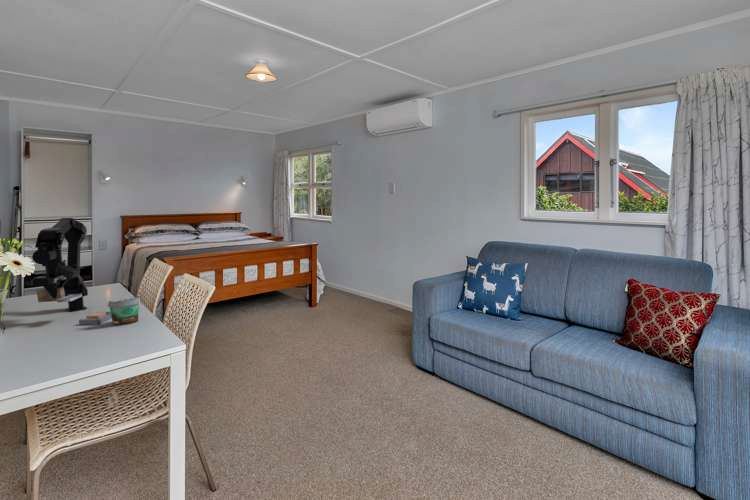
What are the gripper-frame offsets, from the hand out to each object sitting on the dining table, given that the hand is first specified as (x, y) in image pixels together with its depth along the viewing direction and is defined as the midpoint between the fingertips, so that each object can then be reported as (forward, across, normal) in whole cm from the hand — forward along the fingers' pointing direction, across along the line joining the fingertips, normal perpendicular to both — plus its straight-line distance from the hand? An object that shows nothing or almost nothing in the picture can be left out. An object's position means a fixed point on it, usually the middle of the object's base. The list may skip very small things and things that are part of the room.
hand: (57, 297), depth 172 cm
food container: (+10, -5, -30) cm, 32 cm away
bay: (+10, 0, -15) cm, 18 cm away
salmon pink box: (+10, -1, -15) cm, 18 cm away
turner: (+1, 0, 0) cm, 1 cm away
